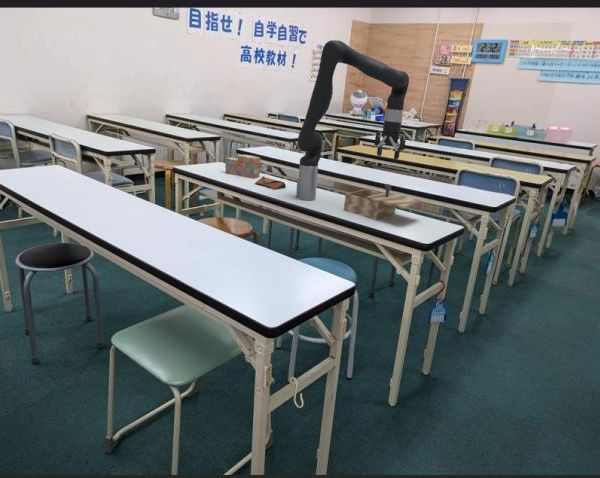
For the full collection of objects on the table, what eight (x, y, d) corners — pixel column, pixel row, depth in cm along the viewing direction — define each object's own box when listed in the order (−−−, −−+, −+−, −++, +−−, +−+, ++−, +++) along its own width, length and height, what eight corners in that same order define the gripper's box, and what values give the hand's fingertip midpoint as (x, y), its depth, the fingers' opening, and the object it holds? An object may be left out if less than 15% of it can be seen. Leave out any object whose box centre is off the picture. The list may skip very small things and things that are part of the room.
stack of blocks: (225, 173, 267) (225, 153, 263) (231, 172, 273) (231, 152, 268) (253, 179, 258) (254, 158, 254) (259, 177, 263) (260, 157, 259)
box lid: (366, 198, 197) (368, 184, 195) (386, 193, 208) (388, 179, 206) (402, 208, 185) (405, 193, 183) (421, 202, 197) (424, 188, 194)
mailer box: (343, 210, 208) (345, 193, 205) (363, 204, 219) (365, 189, 216) (375, 219, 196) (377, 202, 193) (394, 213, 207) (396, 197, 205)
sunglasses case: (252, 183, 246) (256, 172, 247) (259, 188, 252) (263, 177, 252) (275, 190, 236) (280, 178, 236) (282, 194, 241) (287, 183, 242)
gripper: (374, 118, 191) (369, 155, 197) (402, 122, 182) (396, 161, 188) (383, 117, 196) (378, 154, 202) (411, 122, 187) (405, 159, 193)
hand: (387, 157), depth 195 cm, fingers open, 8 cm apart
